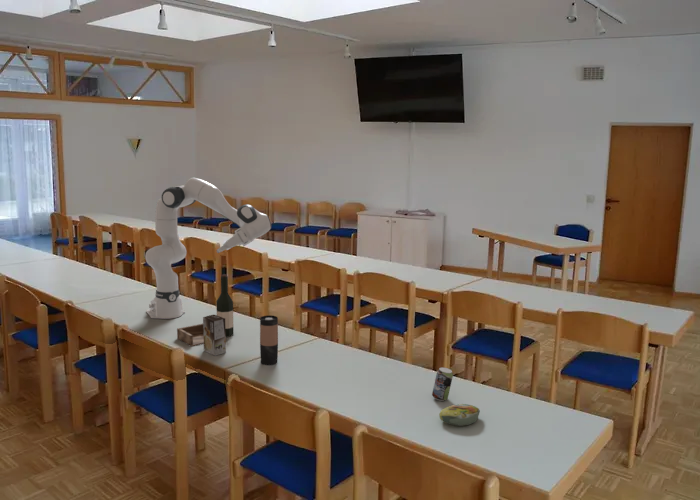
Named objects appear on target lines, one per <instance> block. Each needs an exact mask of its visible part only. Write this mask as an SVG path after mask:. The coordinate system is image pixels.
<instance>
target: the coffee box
mask: <svg viewBox="0 0 700 500" xmlns="http://www.w3.org/2000/svg"><path fill="white" fill-rule="evenodd" d="M202 324H203V334H204V344H203V351H204V352H206V353H209V354H210V355H213V356H220V355H222V354H226V353H227V346H226V345H227V343H226V342H227V340H226V339H227V337H226V329H225V318H222V317H220V316H217V314H210V315H206V316H203V317H202Z"/></svg>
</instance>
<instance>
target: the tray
mask: <svg viewBox="0 0 700 500" xmlns="http://www.w3.org/2000/svg"><path fill="white" fill-rule="evenodd" d="M176 332H177V334H176V337H177V340H180V341H181V342H183V344H186V345H187V346H189V345H190V346H189V347H195V345H196V346H200V344H201V345H204V334H203V323H200V324H199V323H198V324H192V325H187V326H183V327H178V328H177V329H176Z"/></svg>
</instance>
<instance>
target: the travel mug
mask: <svg viewBox="0 0 700 500" xmlns="http://www.w3.org/2000/svg"><path fill="white" fill-rule="evenodd" d="M278 321H279V319H278V316H275V315H262V316H260V318H259V350H260V354H259V355H260V363H261V365H264V366H274V365H277V363H278V357H279V356H278V352H279V351H278V349H279V334H278V333H279V325H278V324H279V323H278Z"/></svg>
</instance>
